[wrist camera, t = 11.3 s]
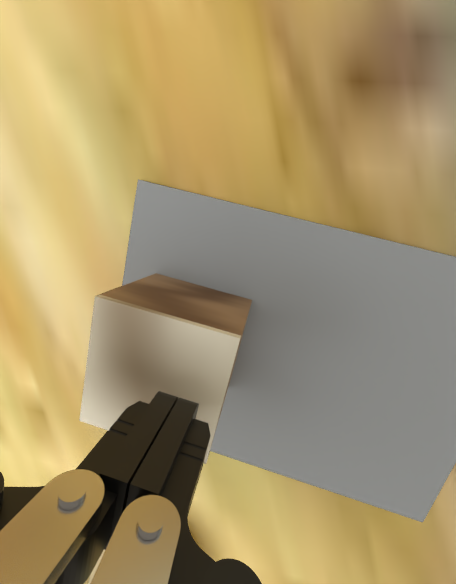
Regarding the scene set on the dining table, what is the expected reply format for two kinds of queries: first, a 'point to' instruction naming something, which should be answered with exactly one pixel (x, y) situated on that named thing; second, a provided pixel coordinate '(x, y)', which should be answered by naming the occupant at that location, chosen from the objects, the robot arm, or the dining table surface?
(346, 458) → the mat
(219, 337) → the walnut cube
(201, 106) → the dining table surface
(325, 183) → the dining table surface
